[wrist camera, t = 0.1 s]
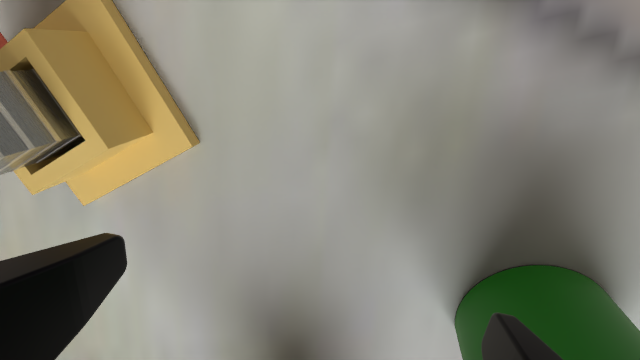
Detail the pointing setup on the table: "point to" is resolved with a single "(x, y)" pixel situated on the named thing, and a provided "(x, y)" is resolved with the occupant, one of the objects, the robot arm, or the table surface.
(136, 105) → the stand base
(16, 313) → the robot arm
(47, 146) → the column
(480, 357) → the green pencil holder
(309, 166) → the table surface
